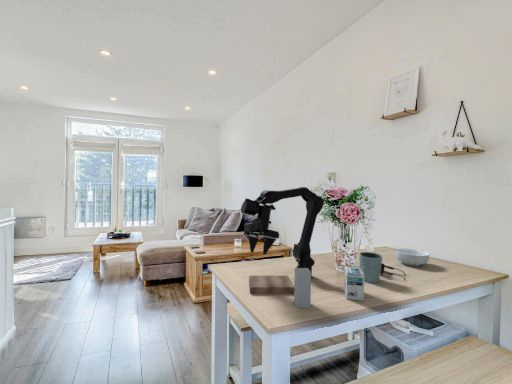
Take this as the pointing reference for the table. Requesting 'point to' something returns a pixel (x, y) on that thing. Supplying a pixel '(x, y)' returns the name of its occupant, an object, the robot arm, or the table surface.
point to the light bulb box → (354, 282)
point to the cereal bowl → (412, 256)
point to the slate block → (302, 288)
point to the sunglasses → (388, 272)
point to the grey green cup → (370, 266)
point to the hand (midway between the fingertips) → (257, 253)
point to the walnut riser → (270, 284)
